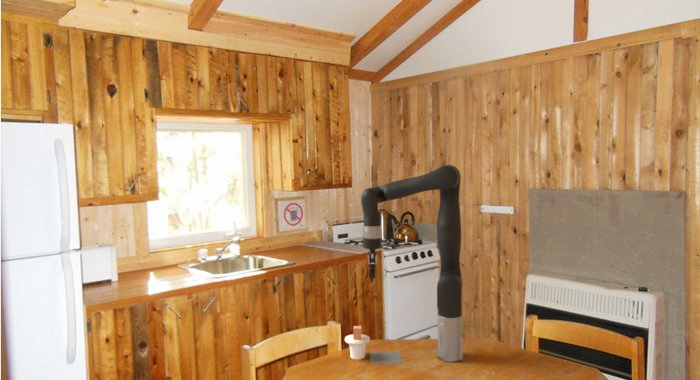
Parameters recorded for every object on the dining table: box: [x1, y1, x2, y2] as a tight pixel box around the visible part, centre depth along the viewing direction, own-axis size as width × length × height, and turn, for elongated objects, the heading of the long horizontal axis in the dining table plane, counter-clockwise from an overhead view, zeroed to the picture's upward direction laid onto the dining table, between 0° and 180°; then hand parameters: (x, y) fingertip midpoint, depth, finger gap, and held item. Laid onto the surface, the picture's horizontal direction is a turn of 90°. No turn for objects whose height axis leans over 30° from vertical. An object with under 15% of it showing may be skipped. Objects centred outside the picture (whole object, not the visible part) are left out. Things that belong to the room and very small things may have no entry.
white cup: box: [348, 344, 367, 360], centre depth 198 cm, size 7×7×7 cm
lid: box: [344, 325, 371, 345], centre depth 198 cm, size 10×10×5 cm
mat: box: [369, 351, 403, 365], centre depth 197 cm, size 12×12×1 cm
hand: (372, 275), depth 207 cm, fingers open, 8 cm apart
